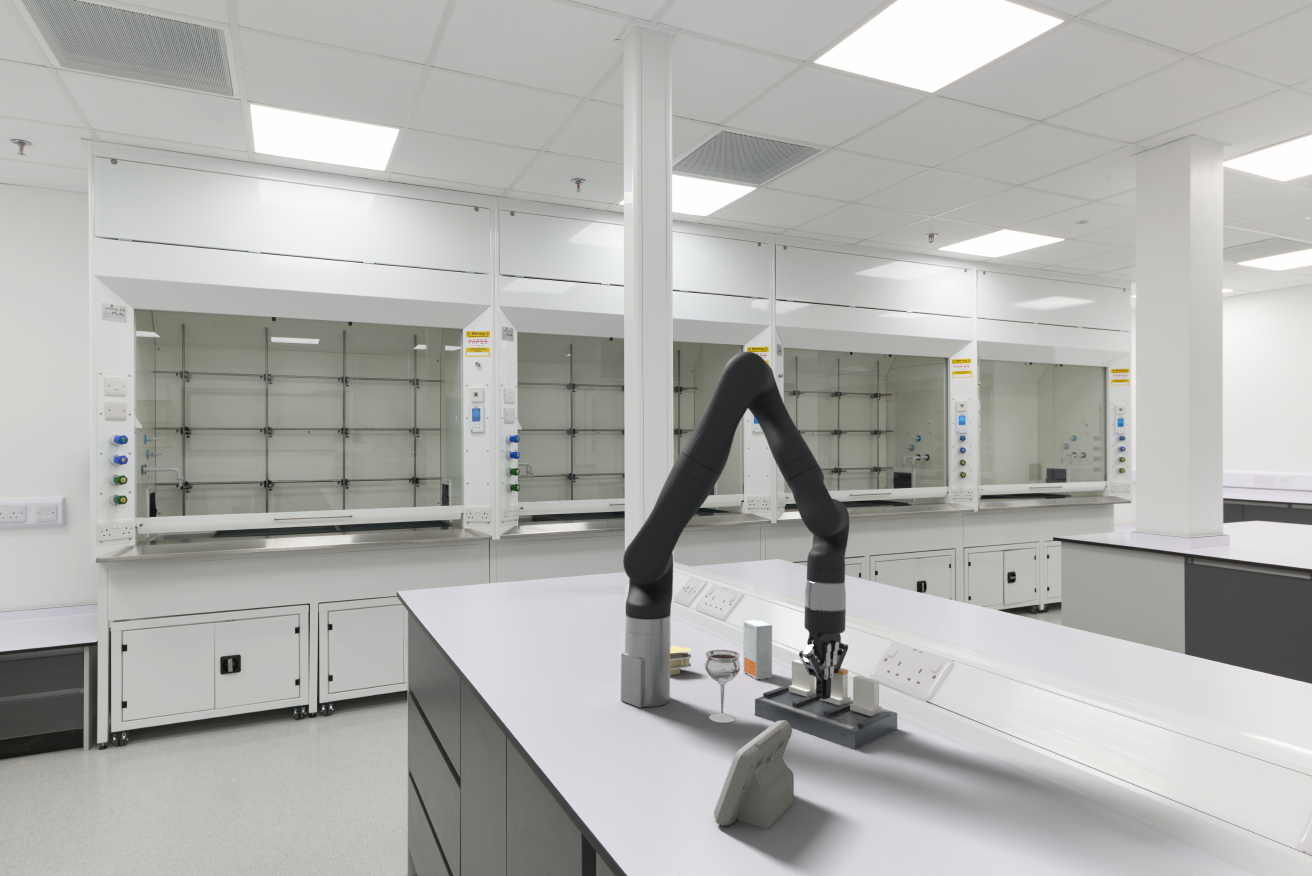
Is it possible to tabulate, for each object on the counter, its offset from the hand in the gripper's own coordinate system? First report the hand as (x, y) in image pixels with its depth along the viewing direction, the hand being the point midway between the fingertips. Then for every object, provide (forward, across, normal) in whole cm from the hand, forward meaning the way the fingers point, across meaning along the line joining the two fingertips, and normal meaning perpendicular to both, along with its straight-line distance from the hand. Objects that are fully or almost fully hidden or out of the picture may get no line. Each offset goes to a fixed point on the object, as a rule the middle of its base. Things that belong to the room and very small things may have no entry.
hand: (823, 697), depth 136 cm
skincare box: (+5, -14, -27) cm, 31 cm away
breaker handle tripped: (+1, -4, 0) cm, 4 cm away
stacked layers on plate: (+5, -1, -41) cm, 42 cm away
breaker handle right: (+1, -4, +7) cm, 8 cm away
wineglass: (+5, +12, -14) cm, 19 cm away
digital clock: (+6, +35, +13) cm, 38 cm away
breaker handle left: (+1, -4, -7) cm, 8 cm away
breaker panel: (+5, -1, 0) cm, 5 cm away
